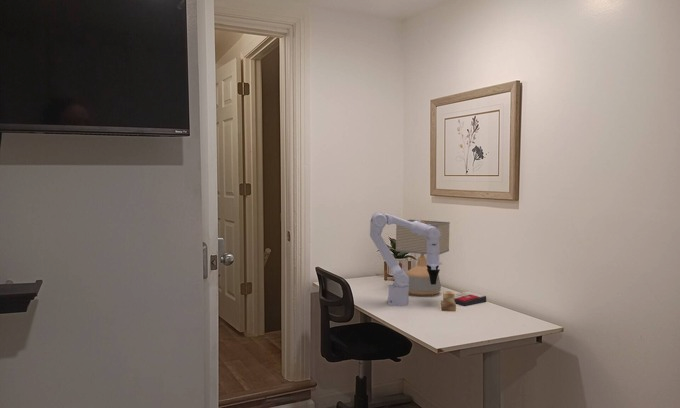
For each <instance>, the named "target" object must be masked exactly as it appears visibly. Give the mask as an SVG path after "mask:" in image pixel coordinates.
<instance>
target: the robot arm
mask: <svg viewBox="0 0 680 408" xmlns="http://www.w3.org/2000/svg"><path fill="white" fill-rule="evenodd" d="M407 220H408V219H407ZM407 220H406V219H404V218H401V217H399V216H396V215H394V214H389V213H387V212H385V213H383V212H381V211H376V212H374V213H373V214H372V216H371V218H370V222H369V223H370V227H369V237H370V238H371V241H372V242H373V243H374V245H375V247H376V249H377V251H378V252H379V253H380V255H381V257H382V259H383V260H384V261H385V263H386V265H387V266H388V268H389V269H390V272H391V273H392V278H393V280H394V281H393V283H392V284H388V294H387V295H388V296H387V306H398V307H399V306H400V307H402V306H407V305H409V300H410V299H409V295H410V294H409V284H408V283H409V277H408V275H407V274H406V272H407V271H405V270H404V269H403V268H401V266H400V264H399V263H398V261H397V259H396V258H395V256H394V254H393V252H391V250H390V248H389V246H388V244H387V243H386V242H385V240H384V238H383V236H382V232H383V230H384V228H385V226H386V225H388V226H391V225H396V224H397V225H400V226H403V227H406V228H409V229H410V230H411V232H412V233H415V234H418V235H421V236H423V237H426V236H427V254H426V260H427V262H426V264H427V265H426V266H427V268H428V269H427V271H428V273H429V276H430V282H431V284H432V285H436V281H437V276H438V275H439V273H440V271H441V269H440V268H439V266H440V265H442V264H443V262H442V261H440V255H439V238H440V236H441V234H440V231H439V230H438V229H437V228H436V227H434V226H431V225H430V224H429V225H427V224H424V223H421V221H420V219H417V220H418V221H414V222H410V221H407Z"/></svg>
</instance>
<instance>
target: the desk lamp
mask: <svg viewBox="0 0 680 408" xmlns="http://www.w3.org/2000/svg"><path fill="white" fill-rule="evenodd" d="M418 220H420V219H407V221H410V222H414V221H418ZM420 221H421V223H424V224H427V225H429V224H430V225H431V226H434V227H436V228H437V229H438V230H439V231H440V234H441V236H440V238H439V256H440V255H443V254H445V253H447V252H450V221H437V220H425V219H421V220H420ZM395 225H396V228H395V230H396V231H395V252H400V253H409V254H410V253H411V254H417V255H418V254H420V256H419V257H418V258H417V264H416V266H413V267H412V268H411V269H408V270H407V271H405V272H406V274H407V275H408V277H409V283H408V284H409V295H413V296H417V297H431V296H433V295H436V294H438V293H440V292H441V291H442V290H441V289H442V287H441V285H442V284H441V279H440V275H439V274H438V276H437V281H436V285H432V284H431V282H430V276H429V273H428V271H427V269H428V268H427V266H426V265H427V264H426V262H427V257H426V256H425V255H427V236H426V237H423V236H421V235H418V234H415V233H412V232H411V230H410V229H409V228H406V227H403V226H400V225H397V224H395Z"/></svg>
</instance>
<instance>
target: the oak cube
mask: <svg viewBox="0 0 680 408" xmlns="http://www.w3.org/2000/svg"><path fill="white" fill-rule="evenodd" d="M454 294H455V291H452V290H451V291H448V290H443V291H442V301H443V303H444V304H454Z"/></svg>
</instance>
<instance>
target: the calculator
mask: <svg viewBox="0 0 680 408" xmlns="http://www.w3.org/2000/svg"><path fill="white" fill-rule="evenodd" d="M454 301H455V303H456V305H458V306H462V307H468V306H473V305H478V304H483V303H487V296H486V295H484V294H482V293H477V292H472V291H469V290H468V291H464V292H460V293H459V292H458V293H454Z"/></svg>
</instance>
